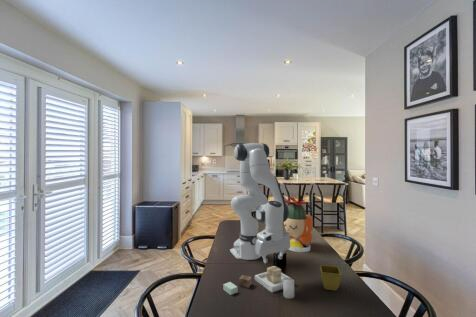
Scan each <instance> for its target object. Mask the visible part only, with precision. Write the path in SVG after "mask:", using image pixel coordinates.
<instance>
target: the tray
mask: <svg viewBox="0 0 476 317" xmlns="http://www.w3.org/2000/svg"><path fill="white" fill-rule="evenodd" d="M284 278H291V277H290V276H288V275H287V274H284V273H283V272H281V282H278V283H275V284H273V283H271V282H270V281H268V280H267V271H265V272H261V273H258V274H255V275H254V280H255V282H257V283H259V284H260V285H261V286H262V285H263V288H265V289H266V290H267V291H269V292H271V293H275V292H279V291H281V290H283V279H284Z"/></svg>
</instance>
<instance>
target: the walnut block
mask: <svg viewBox="0 0 476 317" xmlns="http://www.w3.org/2000/svg"><path fill="white" fill-rule="evenodd" d="M251 285H252V276H250V275H244V274H242V275H241V276H240V277H239V278H238V286H239V287H243V288H247V289H249V288H250V286H251Z"/></svg>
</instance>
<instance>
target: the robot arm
mask: <svg viewBox="0 0 476 317" xmlns="http://www.w3.org/2000/svg"><path fill="white" fill-rule="evenodd" d="M233 155H234V158H235V160H237V161H239V184H240V186H241V187H242V188H243V189H245V190H246V191H247V192H246V194H239V195H236V196H233V197H232V198H231V201H230V207H231V209H232V211H233V212H234V213H235V214H237V216H238V218H239V221H240V232H239V233H238V236H239V237H238V239H236V240H235V241H234V243H233V247H231V248H230V249H229V251H230V253H231V254H232V255H233V256H234V258H236V259H237V260H246V261H249V260H250V261H252V260H258V259H259V258H261V257H262V260H263V263H264V264H268V261H269V259H268V258H267V255H271V254H275V253H279V254H278V255H277V259H279V260H282V259H283V256H284V254H285V251H287V250H288V249H289V248H290V239H291V238H289V235H290V234H289V232H287V231H286V230H284V225H283V224H284V222H285V221H286V220H287V219H288V217H289V209H288V205H287V202H285V201H286V200H285V198H284V195H283V192H282V189H281V185H280V183H279V181H278V178H277V177H276V176H275V175H274V174H273V172H272V170H271V168H270V164H269V161H268V158H269V156H270V147H269V146H268V144H266V143H263V142H261V143H259V142H249V143H248V142H247V143H237V144H236V145H235V146H234V150H233ZM259 184H260V185H264V186H265V187H267V188H268V189H269V190H270V191H271V194H272V197H273V199H274V200H268V197H267V196H266V195H265V194H264V193H263V192H262V191H261V189H260V187H259ZM252 212H255V217H254V216H252ZM259 223H260V224H261V223H262V224H265V228H264V229H263V230H262V231H259Z"/></svg>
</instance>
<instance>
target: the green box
mask: <svg viewBox="0 0 476 317" xmlns="http://www.w3.org/2000/svg"><path fill="white" fill-rule="evenodd" d="M222 286H223V288H222V289H223V290H224V291H225V292H226V293H227V294H229V295H230V296H233V295H234V294H238V292H239V291H238V286H237V285H236V284H235V283H233V282H231V281H227V282H226V283H223V284H222Z"/></svg>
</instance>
